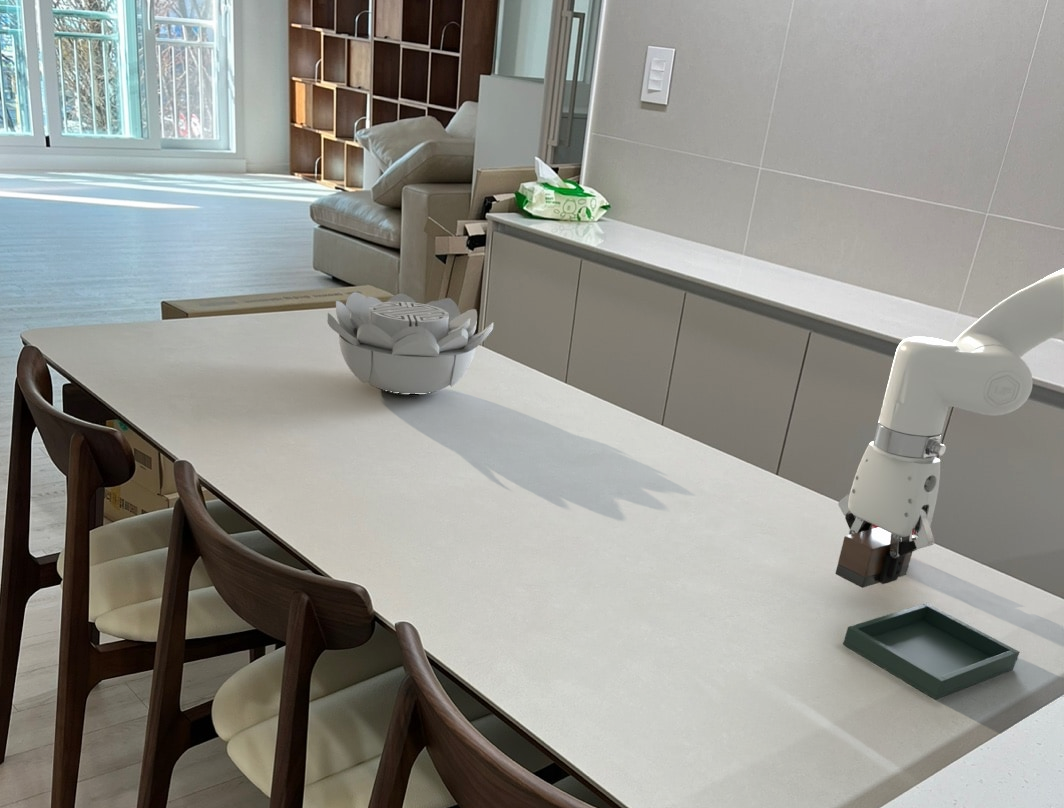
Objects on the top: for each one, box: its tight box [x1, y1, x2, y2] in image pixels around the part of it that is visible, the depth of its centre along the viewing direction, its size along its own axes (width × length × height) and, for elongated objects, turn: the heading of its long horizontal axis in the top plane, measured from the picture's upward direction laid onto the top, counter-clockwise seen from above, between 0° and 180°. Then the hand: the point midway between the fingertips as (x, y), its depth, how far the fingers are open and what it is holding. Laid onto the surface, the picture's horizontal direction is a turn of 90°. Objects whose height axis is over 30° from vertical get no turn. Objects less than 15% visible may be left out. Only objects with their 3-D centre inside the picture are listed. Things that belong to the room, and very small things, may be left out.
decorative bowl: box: [326, 291, 494, 396], centre depth 199 cm, size 30×30×15 cm
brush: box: [834, 527, 917, 589], centre depth 138 cm, size 9×4×6 cm, turn 125°
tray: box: [842, 602, 1020, 700], centre depth 129 cm, size 16×14×2 cm
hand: (871, 571), depth 139 cm, fingers closed on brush, 4 cm apart
